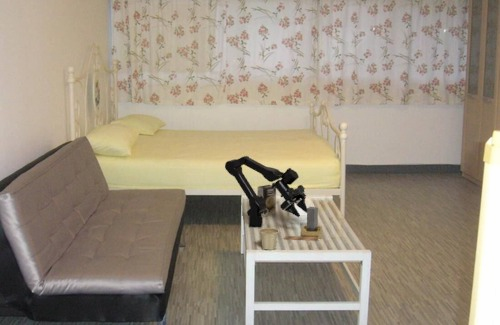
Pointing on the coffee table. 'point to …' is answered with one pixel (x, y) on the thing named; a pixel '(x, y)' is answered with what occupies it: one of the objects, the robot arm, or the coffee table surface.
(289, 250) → the coffee table surface
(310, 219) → the bar
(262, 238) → the flower pot
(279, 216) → the coffee table surface
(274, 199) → the coffee box
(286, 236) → the door edge strip
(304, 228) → the keeper
